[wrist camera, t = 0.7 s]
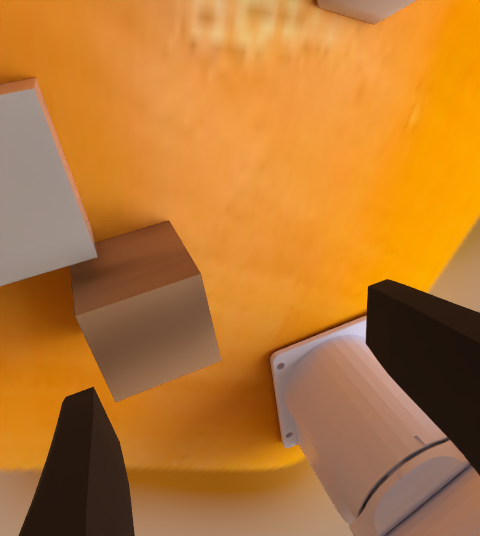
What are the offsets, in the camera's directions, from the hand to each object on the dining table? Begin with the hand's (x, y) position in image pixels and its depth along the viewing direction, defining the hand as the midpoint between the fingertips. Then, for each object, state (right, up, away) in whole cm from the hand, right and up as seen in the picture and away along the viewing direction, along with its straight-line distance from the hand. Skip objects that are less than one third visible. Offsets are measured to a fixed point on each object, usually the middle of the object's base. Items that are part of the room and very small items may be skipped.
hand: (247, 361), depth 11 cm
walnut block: (-5, +2, +9) cm, 11 cm away
